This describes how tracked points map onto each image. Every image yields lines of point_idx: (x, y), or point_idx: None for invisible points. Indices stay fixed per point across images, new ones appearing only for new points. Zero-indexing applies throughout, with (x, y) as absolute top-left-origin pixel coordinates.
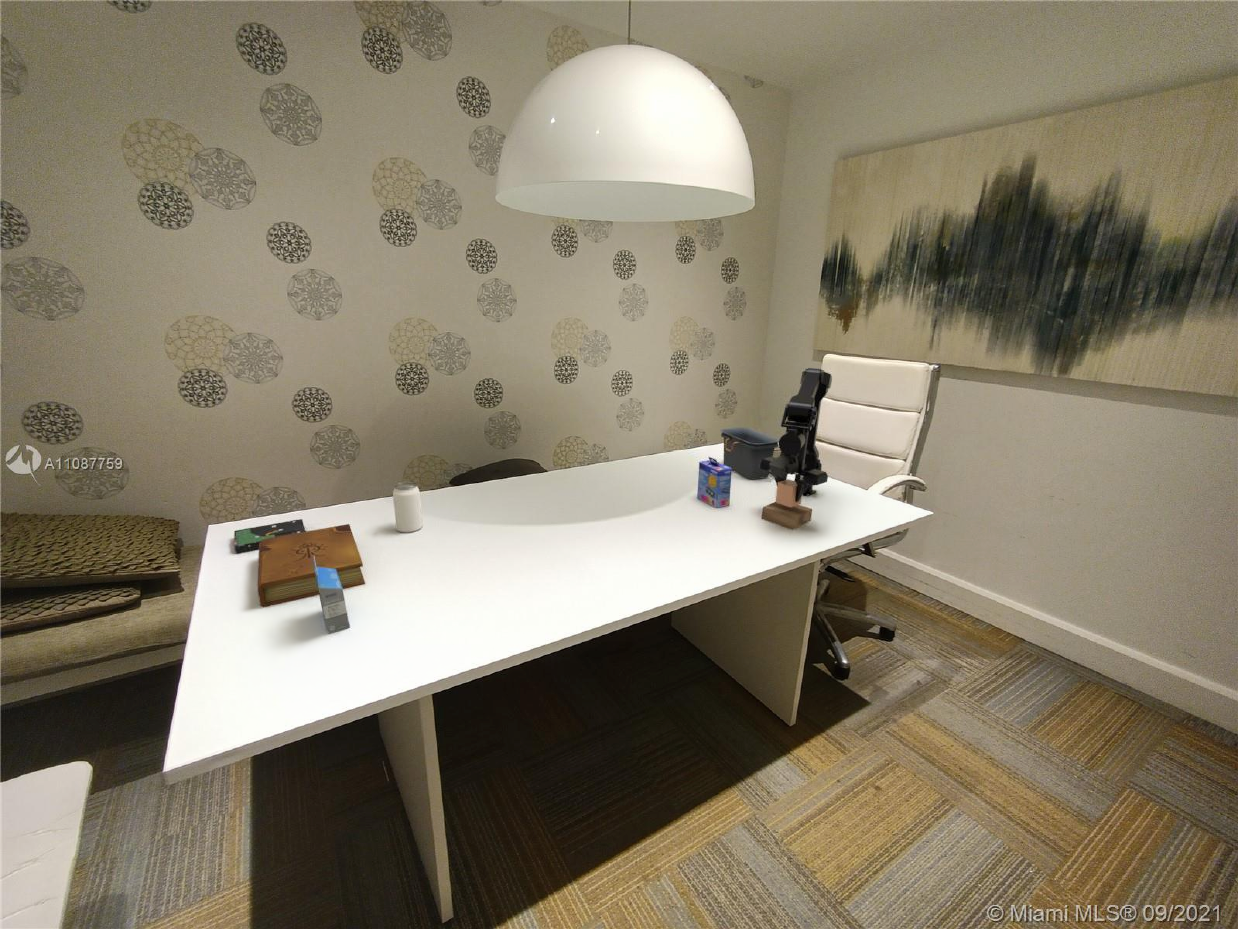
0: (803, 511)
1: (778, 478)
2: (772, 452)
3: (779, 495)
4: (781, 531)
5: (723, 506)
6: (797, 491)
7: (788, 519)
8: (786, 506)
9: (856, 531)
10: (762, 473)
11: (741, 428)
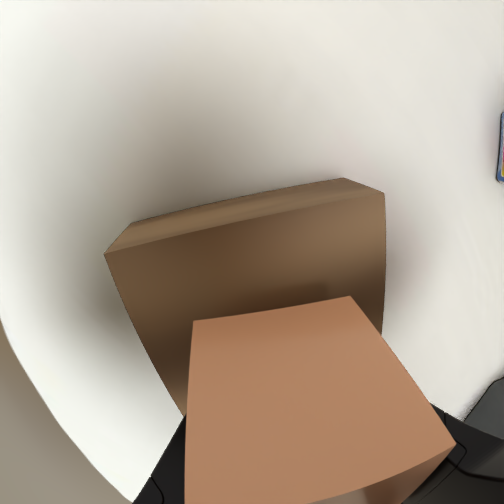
0: (176, 378)
1: (473, 477)
2: None
3: (347, 348)
4: (142, 141)
5: (500, 147)
6: (176, 482)
7: (154, 232)
8: None
9: (66, 412)
10: (479, 417)
11: None
